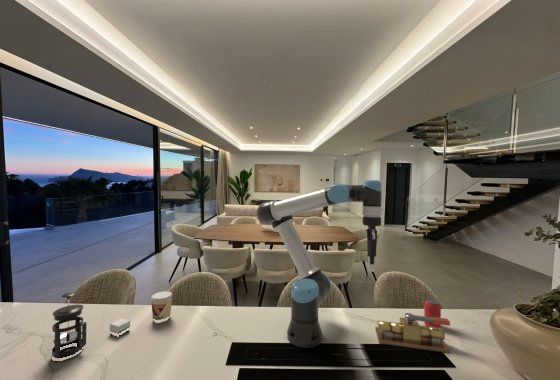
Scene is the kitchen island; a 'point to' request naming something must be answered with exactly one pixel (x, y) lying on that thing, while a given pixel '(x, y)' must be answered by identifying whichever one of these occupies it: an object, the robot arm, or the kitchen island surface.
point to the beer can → (432, 311)
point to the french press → (68, 329)
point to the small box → (119, 325)
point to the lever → (427, 319)
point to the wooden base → (411, 335)
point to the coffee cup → (161, 305)
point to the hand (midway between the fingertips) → (371, 270)
